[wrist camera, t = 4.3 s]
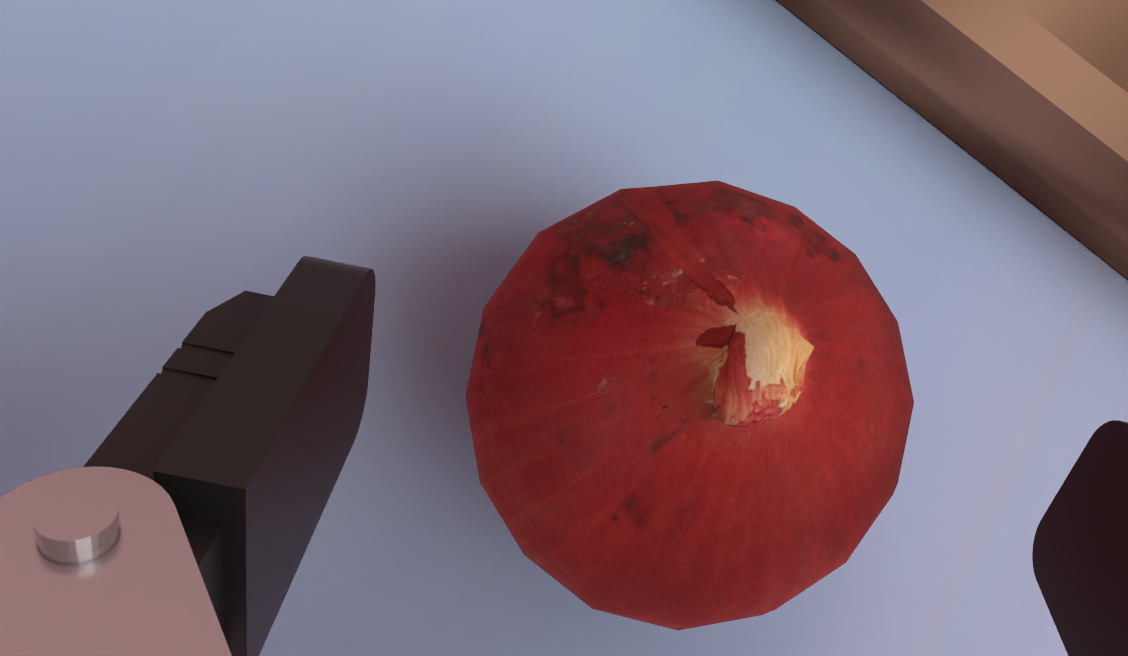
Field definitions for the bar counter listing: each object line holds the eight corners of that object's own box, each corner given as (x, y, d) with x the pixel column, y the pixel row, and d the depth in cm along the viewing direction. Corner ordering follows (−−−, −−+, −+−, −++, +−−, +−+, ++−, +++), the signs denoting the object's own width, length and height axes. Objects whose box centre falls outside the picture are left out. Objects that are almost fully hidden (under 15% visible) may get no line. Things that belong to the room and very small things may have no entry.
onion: (413, 367, 17) (332, 222, 9) (693, 210, 18) (841, -48, 10) (587, 671, 16) (666, 805, 8) (873, 489, 17) (1191, 450, 9)
